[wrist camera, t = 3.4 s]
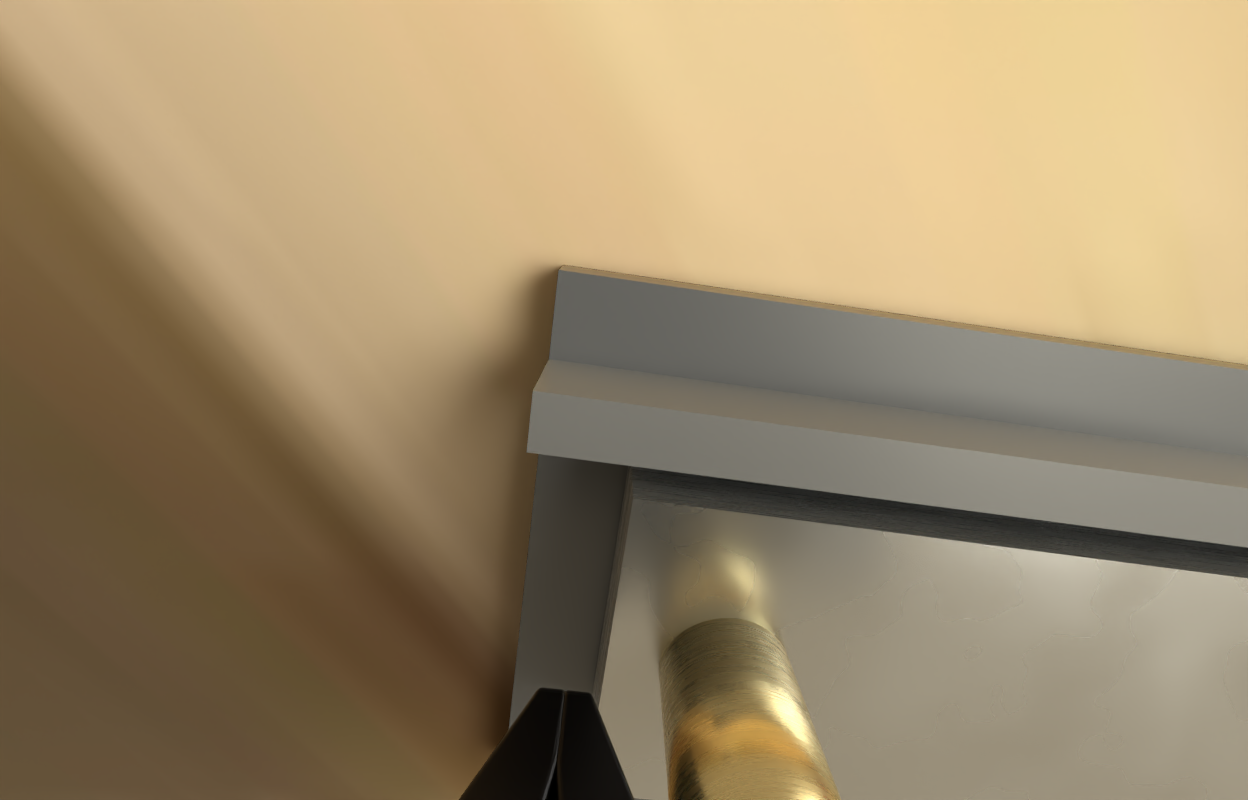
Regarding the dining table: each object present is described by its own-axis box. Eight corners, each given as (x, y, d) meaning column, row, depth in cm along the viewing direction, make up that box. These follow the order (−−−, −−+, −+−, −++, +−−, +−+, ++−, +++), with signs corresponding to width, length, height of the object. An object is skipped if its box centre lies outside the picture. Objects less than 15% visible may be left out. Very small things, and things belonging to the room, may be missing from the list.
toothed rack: (1337, 844, 14) (1792, 1246, 9) (581, 762, 13) (552, 1148, 8) (1530, 568, 12) (2319, 878, 6) (631, 448, 11) (639, 683, 5)
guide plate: (1576, 867, 16) (1784, 1009, 13) (510, 751, 15) (482, 881, 12) (1931, 465, 12) (2321, 540, 10) (564, 265, 11) (543, 282, 8)
